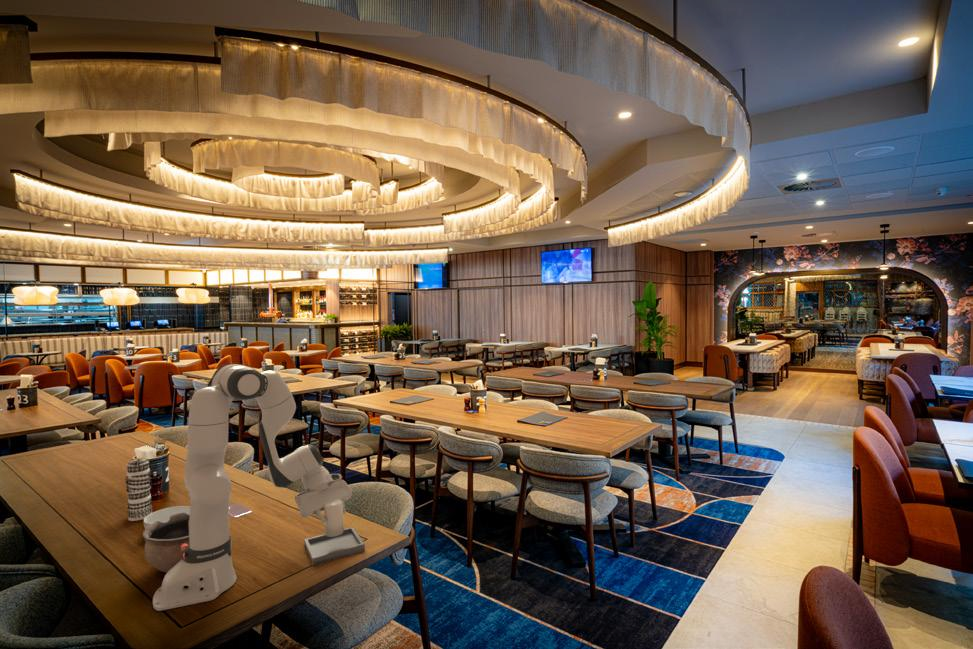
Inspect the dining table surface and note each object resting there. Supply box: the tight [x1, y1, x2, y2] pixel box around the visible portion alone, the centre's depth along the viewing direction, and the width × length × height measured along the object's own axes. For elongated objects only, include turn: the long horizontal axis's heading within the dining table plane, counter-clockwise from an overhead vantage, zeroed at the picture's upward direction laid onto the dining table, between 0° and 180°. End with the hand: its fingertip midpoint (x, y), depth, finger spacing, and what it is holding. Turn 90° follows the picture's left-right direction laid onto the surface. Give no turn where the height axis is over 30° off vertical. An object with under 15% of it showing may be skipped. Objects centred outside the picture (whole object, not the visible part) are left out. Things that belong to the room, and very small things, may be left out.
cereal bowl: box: [143, 505, 190, 530], centre depth 187 cm, size 17×17×7 cm
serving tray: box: [303, 526, 366, 566], centre depth 171 cm, size 18×16×2 cm
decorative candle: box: [125, 457, 153, 522], centre depth 201 cm, size 9×9×25 cm
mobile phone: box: [229, 502, 253, 519], centre depth 206 cm, size 8×1×15 cm
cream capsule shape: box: [323, 500, 345, 537], centre depth 171 cm, size 6×6×11 cm
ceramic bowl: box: [142, 513, 190, 573], centre depth 161 cm, size 22×22×15 cm
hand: (334, 517), depth 171 cm, fingers closed on cream capsule shape, 6 cm apart
